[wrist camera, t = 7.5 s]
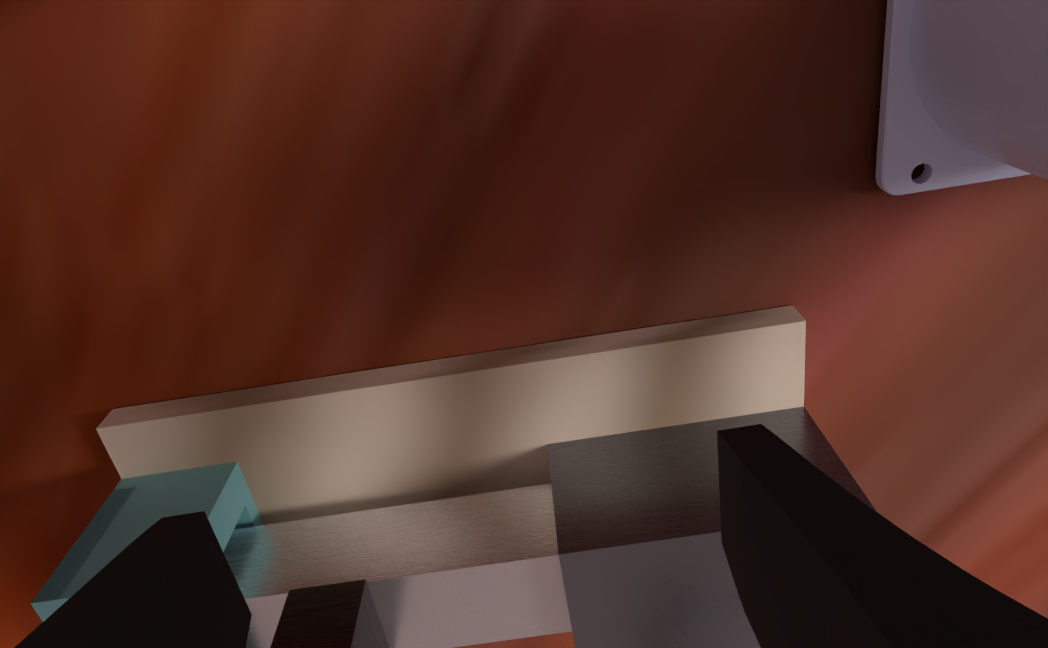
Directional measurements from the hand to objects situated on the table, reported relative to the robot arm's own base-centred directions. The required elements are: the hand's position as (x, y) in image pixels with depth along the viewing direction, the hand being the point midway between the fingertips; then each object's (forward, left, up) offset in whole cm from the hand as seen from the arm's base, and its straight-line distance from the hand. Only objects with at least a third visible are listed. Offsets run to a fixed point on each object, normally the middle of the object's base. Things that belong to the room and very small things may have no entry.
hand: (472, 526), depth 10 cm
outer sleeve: (-5, +8, -10) cm, 14 cm away
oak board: (+2, +8, -10) cm, 13 cm away
